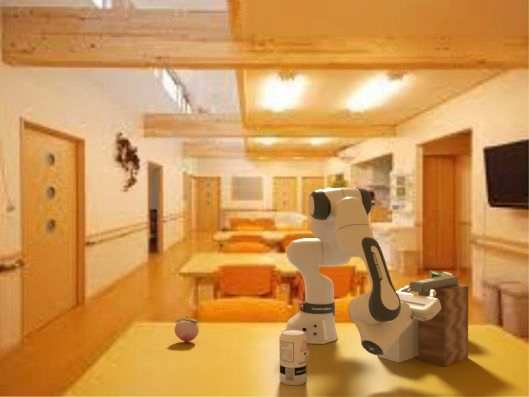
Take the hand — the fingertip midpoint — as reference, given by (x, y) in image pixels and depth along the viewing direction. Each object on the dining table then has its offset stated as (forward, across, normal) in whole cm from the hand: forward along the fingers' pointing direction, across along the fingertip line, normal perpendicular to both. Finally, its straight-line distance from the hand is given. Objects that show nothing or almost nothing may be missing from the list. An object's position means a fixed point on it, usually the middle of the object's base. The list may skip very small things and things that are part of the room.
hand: (421, 289), depth 189 cm
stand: (-1, 0, +29) cm, 29 cm away
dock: (-8, +12, +25) cm, 29 cm away
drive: (+6, 0, +4) cm, 8 cm away
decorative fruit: (-48, +76, +2) cm, 90 cm away
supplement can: (-49, +17, +2) cm, 52 cm away
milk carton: (+24, +18, +44) cm, 53 cm away
